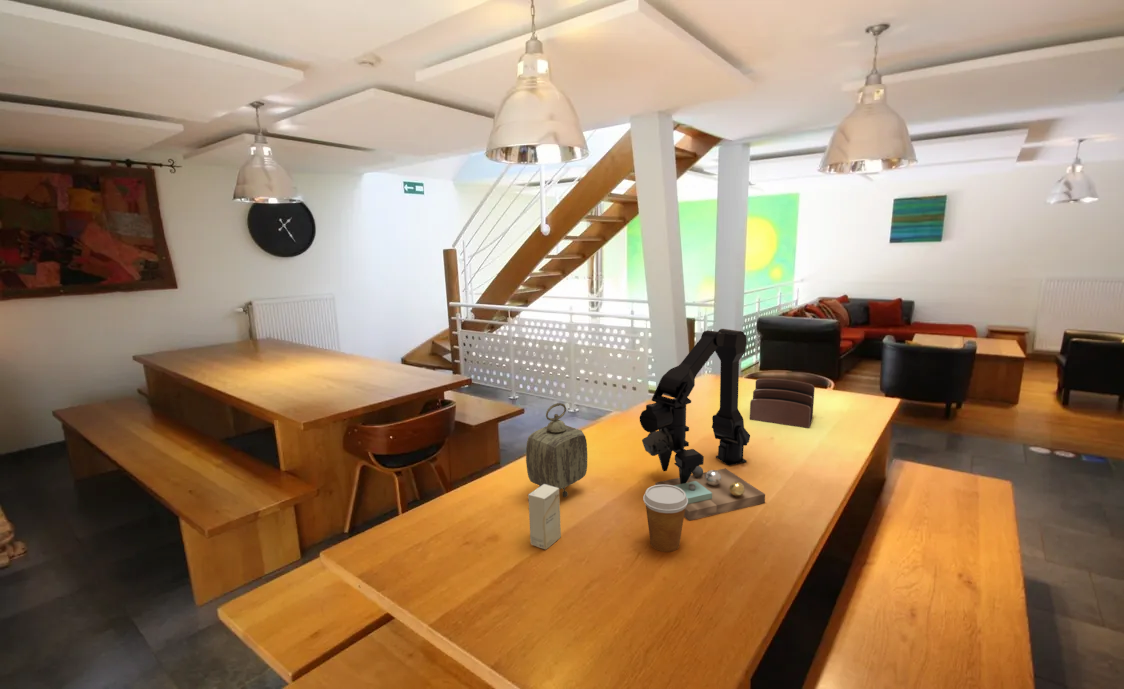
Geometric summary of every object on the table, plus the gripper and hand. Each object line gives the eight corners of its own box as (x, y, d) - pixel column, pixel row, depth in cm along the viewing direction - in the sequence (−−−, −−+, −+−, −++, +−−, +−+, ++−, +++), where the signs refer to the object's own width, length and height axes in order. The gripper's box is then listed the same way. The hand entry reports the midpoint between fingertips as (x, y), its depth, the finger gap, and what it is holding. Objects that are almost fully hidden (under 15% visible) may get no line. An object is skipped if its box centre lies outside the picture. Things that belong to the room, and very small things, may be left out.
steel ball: (714, 480, 139) (715, 466, 139) (724, 486, 136) (724, 472, 135) (701, 483, 138) (702, 468, 137) (710, 489, 134) (711, 475, 134)
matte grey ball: (699, 473, 144) (699, 463, 143) (705, 478, 141) (705, 467, 140) (689, 475, 143) (689, 465, 142) (695, 480, 140) (696, 469, 139)
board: (725, 476, 147) (725, 468, 146) (764, 502, 132) (765, 494, 131) (655, 490, 140) (655, 482, 139) (688, 520, 125) (689, 511, 124)
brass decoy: (738, 491, 133) (738, 478, 133) (747, 497, 130) (748, 484, 129) (726, 493, 132) (726, 480, 131) (735, 500, 129) (735, 486, 128)
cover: (695, 486, 136) (696, 477, 136) (712, 498, 130) (712, 489, 129) (672, 491, 134) (672, 482, 134) (687, 504, 128) (687, 494, 127)
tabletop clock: (566, 479, 147) (564, 394, 142) (590, 490, 141) (589, 401, 136) (527, 498, 138) (523, 407, 132) (551, 510, 131) (548, 415, 126)
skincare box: (545, 550, 115) (543, 499, 112) (529, 544, 117) (527, 494, 115) (561, 536, 120) (560, 487, 117) (545, 531, 122) (543, 482, 120)
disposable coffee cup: (689, 535, 119) (690, 486, 116) (684, 560, 110) (685, 507, 108) (647, 528, 122) (647, 481, 120) (639, 552, 113) (639, 501, 111)
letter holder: (754, 411, 198) (756, 375, 195) (812, 419, 188) (815, 381, 185) (749, 420, 189) (750, 382, 186) (809, 429, 179) (812, 389, 176)
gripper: (630, 415, 143) (630, 468, 146) (665, 439, 125) (664, 499, 129) (666, 409, 146) (665, 462, 149) (705, 432, 129) (703, 491, 132)
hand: (673, 478), depth 140 cm, fingers open, 9 cm apart
